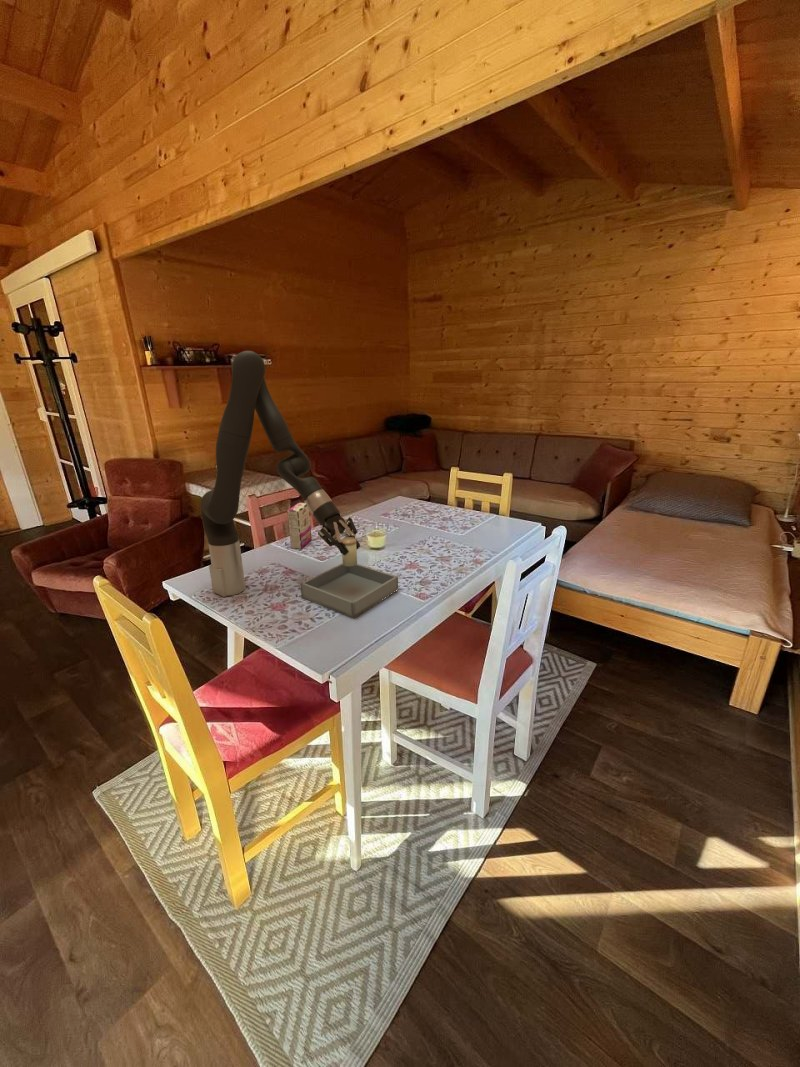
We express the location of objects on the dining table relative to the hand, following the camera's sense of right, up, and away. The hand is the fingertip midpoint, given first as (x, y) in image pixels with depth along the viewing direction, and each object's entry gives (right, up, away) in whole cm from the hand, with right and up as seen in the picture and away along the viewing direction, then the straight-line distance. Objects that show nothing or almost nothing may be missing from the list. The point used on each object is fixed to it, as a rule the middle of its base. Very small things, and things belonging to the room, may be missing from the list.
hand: (352, 550), depth 140 cm
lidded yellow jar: (-1, -4, +2) cm, 5 cm away
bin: (-1, -14, +6) cm, 15 cm away
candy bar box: (-26, +1, +47) cm, 54 cm away
